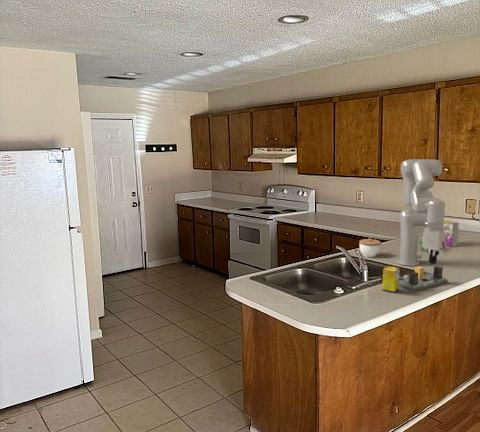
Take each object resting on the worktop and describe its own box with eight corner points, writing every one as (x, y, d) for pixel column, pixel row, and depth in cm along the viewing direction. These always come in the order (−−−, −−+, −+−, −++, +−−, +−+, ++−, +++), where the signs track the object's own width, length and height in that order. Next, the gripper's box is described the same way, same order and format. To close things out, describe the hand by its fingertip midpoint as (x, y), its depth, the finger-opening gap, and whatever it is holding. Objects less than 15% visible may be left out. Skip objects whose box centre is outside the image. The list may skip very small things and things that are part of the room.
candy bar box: (438, 243, 301) (440, 220, 299) (443, 242, 303) (445, 219, 300) (451, 247, 291) (453, 223, 288) (457, 246, 293) (459, 222, 290)
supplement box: (386, 287, 217) (387, 265, 215) (398, 289, 213) (400, 268, 211) (381, 290, 212) (382, 268, 210) (394, 293, 208) (395, 271, 206)
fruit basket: (419, 251, 282) (420, 234, 280) (418, 247, 291) (419, 231, 289) (438, 252, 279) (440, 235, 277) (437, 249, 287) (438, 232, 285)
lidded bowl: (354, 254, 276) (355, 237, 274) (369, 252, 282) (370, 235, 280) (368, 259, 265) (369, 241, 263) (384, 256, 271) (385, 239, 269)
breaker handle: (418, 278, 224) (418, 266, 223) (423, 280, 221) (423, 267, 220) (414, 279, 223) (415, 267, 221) (419, 281, 220) (420, 268, 219)
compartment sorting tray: (424, 275, 234) (425, 260, 233) (447, 282, 222) (448, 267, 221) (389, 283, 222) (390, 268, 221) (412, 291, 210) (413, 275, 209)
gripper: (416, 224, 215) (414, 261, 218) (443, 229, 202) (441, 268, 205) (426, 223, 219) (424, 259, 222) (454, 227, 206) (451, 265, 209)
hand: (432, 263), depth 213 cm, fingers closed
